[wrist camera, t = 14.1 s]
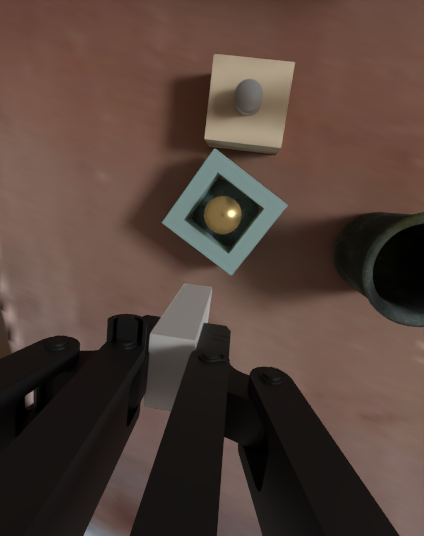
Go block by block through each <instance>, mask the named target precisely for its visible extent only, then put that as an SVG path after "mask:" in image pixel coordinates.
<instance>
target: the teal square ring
mask: <svg viewBox="0 0 424 536" xmlns="http://www.w3.org/2000/svg"><path fill="white" fill-rule="evenodd" d="M219 176H222V177H223V178H224V179H225V180H227V181H228V182H229V183H231V184H232V185H233V186H234V187H236V188H237V189H238V190H240V191H241V192H242V193H243V194H245V195H246V196H247V197H249V198H250V199H251V200H252V201H254V202H255V203H256V204H258V205H259V206H260V207H261V210H260V211H259V212H258V214H257V215H256V216H255V217H254V219H253V220H252V221H251V222H250V224H249V225H248V226H247V228H246V229H245V230H244V231H243V233H242V234H241V235H240V237H239V238H238V239H237V240H236V242H235V243H234V244H233V246H232V247H231V248H230V249H229V248H228V247H226V246H225V245H224V244H222V243H221V242H220V241H218V240H217V239H216V238H215V237H213V236H212V235H211V234H209V233H208V232H207V231H205V230H204V229H203V228H201V227H200V226H199V225H198V224H196V223H195V222H194V221H192V220H191V219H190V218H189V217H190V216H191V215H192V213H193V212H194V211H195V209H196V208H197V206H198V205H199V204H200V202H201V201H202V200H203V198H204V197H205V195H206V194H207V193H208V191H209V190H210V189H211V187H212V186H213V184H214V183H215V182H216V180H217V179H218V178H219ZM287 206H288V205H287V204H286V203H284V202H283V201H282V200H280V199H279V198H278V197H277V196H275V195H274V194H273V193H272V192H270V191H269V190H268V189H266V188H265V187H264V186H263V185H261V184H260V183H259V182H258V181H256V180H255V179H254V178H252V177H251V176H250V175H249V174H247V173H246V172H245V171H244V170H242V169H241V168H240V167H238V166H237V165H236V164H235V163H233V162H232V161H231V160H230V159H228V158H227V157H226V156H224V155H223V154H222V153H221V152H219V151H218V150H217V149H215V148H214V150H213V151H212V152H211V154H210V155H209V157H208V158H207V160H206V161H205V162H204V164H203V165H202V167H201V168H200V169H199V171H198V172H197V174H196V175H195V176H194V178H193V179H192V181H191V182H190V184H189V185H188V186H187V188H186V189H185V191H184V192H183V193H182V195H181V196H180V198H179V199H178V201H177V202H176V203H175V205H174V206H173V208H172V209H171V210H170V212H169V213H168V215H167V216H166V217H165V219H164V220H163V222H162V223H163V224H164V225H165V226H167V227H168V228H169V229H170V230H172V231H173V232H174V233H176V234H177V235H178V236H180V237H181V238H182V239H184V240H185V241H186V242H188V243H189V244H190V245H192V246H193V247H194V248H196V249H197V250H198V251H199V252H201V253H202V254H203V255H205V256H206V257H207V258H209V259H210V260H211V261H213V262H214V263H215V264H217V265H218V266H219V267H221V268H222V269H223V270H224V271H226V272H227V273H228V274H230V275H231V276H232V275H233V273H234V272H235V271H236V270H237V268H238V267H239V266H240V265H241V263H242V262H243V261H244V260H245V258H246V257H247V256H248V255H249V253H250V252H251V251H252V250H253V248H254V247H255V246H256V245H257V243H258V242H259V241H260V240H261V238H262V237H263V236H264V235H265V233H266V232H267V231H268V230H269V228H270V227H271V226H272V225H273V223H274V222H275V221H276V220H277V218H278V217H279V216H280V215H281V213H282V212H283V211H284V210H285V208H286V207H287Z"/></svg>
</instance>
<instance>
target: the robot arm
mask: <svg viewBox="0 0 424 536" xmlns="http://www.w3.org/2000/svg"><path fill="white" fill-rule="evenodd" d="M211 294H212V287H208V286H201V285H194V284H187V283H184V284H183V286H182V287H181V289H180V290H179V292H178V293H177V295H176V296H175V297H174V299H173V300H172V302H171V303H170V305H169V306H168V308H167V309H166V311H165V312H164V314H163V315H162V317H157V316H150V315H146V316H143V317H141V316H138V315H133V314H119V315H115V316H112V317H110V318H108V327H107V342H106V343H105V344H104V345H103V346H102V347H101V348H100V349H99V350H95V351H80V343H79V341H78V340H77V339H75V338H72V337H67V336H55V337H49V338H46V339H43V340H40V341H38V342H36V343H34V344H32V345H30V346H27V347H25V348H23V349H21V350H19V351H17V352H14V353H12V354H10V355H8V356H6V357H4V358H1V359H0V536H83V535H84V533H85V531H86V529H87V526H88V524H89V522H90V520H91V518H92V516H93V514H94V511H95V509H96V507H97V505H98V503H99V501H100V499H101V496H102V494H103V492H104V490H105V488H106V486H107V484H108V481H109V479H110V477H111V475H112V473H113V471H114V469H115V466H116V464H117V462H118V460H119V458H120V456H121V454H122V451H123V449H124V447H125V445H126V443H127V441H128V438H129V436H130V434H131V432H132V430H133V428H134V426H135V423H136V421H137V419H138V417H139V413H140V403H141V400H142V398H143V396H144V407H149V408H155V409H161V410H167V411H171V413H170V416H169V419H168V422H167V425H166V428H165V431H164V434H163V437H162V440H161V443H160V446H159V449H158V452H157V455H156V458H155V461H154V464H153V467H152V470H151V473H150V476H149V479H148V482H147V485H146V488H145V491H144V494H143V497H142V500H141V503H140V506H139V509H138V512H137V515H136V518H135V521H134V524H133V527H132V530H131V533H130V536H217V525H218V511H219V497H220V484H221V470H222V457H223V443H224V437H226V438H228V439H230V440H233V441H235V442H237V443H238V452H239V456H240V459H241V463H242V466H243V470H244V473H245V476H246V480H247V483H248V487H249V490H250V494H251V497H252V501H253V504H254V507H255V511H256V514H257V518H258V521H259V525H260V528H261V532H262V535H263V536H399V534H398V533H397V531H396V530H395V528H394V527H393V526H392V524H391V523H390V521H389V520H388V518H387V517H386V515H385V514H384V512H383V511H382V510H381V508H380V507H379V505H378V504H377V502H376V501H375V499H374V498H373V496H372V495H371V494H370V492H369V491H368V489H367V488H366V486H365V485H364V483H363V482H362V480H361V479H360V477H359V476H358V475H357V473H356V472H355V470H354V469H353V467H352V466H351V464H350V463H349V461H348V460H347V459H346V457H345V456H344V454H343V453H342V451H341V450H340V448H339V447H338V445H337V444H336V443H335V441H334V440H333V438H332V437H331V435H330V434H329V432H328V431H327V429H326V428H325V426H324V425H323V424H322V422H321V421H320V419H319V418H318V416H317V415H316V413H315V412H314V410H313V409H312V408H311V406H310V405H309V403H308V402H307V400H306V399H305V397H304V396H303V394H302V393H301V392H300V390H299V389H298V387H297V386H296V384H295V383H294V381H293V380H292V378H290V377H289V376H288V375H287V374H286V373H284V372H282V371H281V370H279V369H277V368H276V369H275V368H273V367H257V368H255V369H252V371H251V372H250V375H247V374H244V373H242V372H239V371H238V370H236V369H234V368H233V367H232V366H231V365H230V363H229V361H230V360H229V347H230V333H231V331H230V330H229V329H228V328H227V326H222V325H216V324H209V323H208V317H209V309H210V302H211ZM33 390H34V403H33V404H32V405H30V406H29V407H26V408H25V396H26V395H27V394H28V393H30V392H32V391H33ZM144 394H145V395H144Z"/></svg>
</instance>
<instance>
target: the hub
mask: <svg viewBox="0 0 424 536" xmlns="http://www.w3.org/2000/svg"><path fill="white" fill-rule="evenodd" d="M257 214H258V209H257V204H256V203H255V202H254V201H252V200H251V199H250V198H249V197H247V196H246V195H245V194H243V193H242V192H241V191H240V190H238V189H237V188H236V187H234V186H233V185H232V184H231V183H229V182H228V181H227V180H219V181H216V182H215V183H214V184H213V186H212V187H211V189H210V190H209V191H208V193H207V194H206V195H205V197H204V198H203V200H202V201H201V202H200V204H199V205H198V206H197V208H196V209H195V211H194V212H193V219H194V222H195V223H196V224H198V225H199V226H200V227H201V228H203V229H204V230H205V231H207V232H208V233H209V234H211V235H212V236H213V237H215V238H216V239H217V240H218V241H220V242H221V243H222V244H224V245H225V246H227V245H233V244H234V243H235V242H236V240H237V239H238V238H239V237H240V235H241V234H242V233H243V231H244V230H245V229H246V228H247V226H248V225H249V224H250V222H251V221H252V220H253V219H254V217H255V216H256V215H257Z"/></svg>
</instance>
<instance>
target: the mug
mask: <svg viewBox="0 0 424 536" xmlns="http://www.w3.org/2000/svg"><path fill="white" fill-rule="evenodd" d="M334 263H335V267H336V269H337V271H338V273H339V275H340V276H341V277H342V278H343V280H344V281H346V282H347V283H348V284H349V285H351V286H352V287H353V288H355V289H356V290H357V291H359V292H360V293H361V294H362V295H364V296H365V297H366V298H368V300H369V302H370V303H371V305H372V306H373V307H374V308H375V309H376V310H377V311H378V312H379V313H380V314H381V315H382V316H384V317H386V318H387V319H389V320H391V321H393V322H396V323H398V324H402V325H406V326H413V327H424V212H423V213H418V214H413V215H410V214H397V213H384V212H377V213H370V214H366V215H364V216H361V217H359V218H357V219H355V220H354V221H352V222H351V223H350V224H348V225H347V226H346V227H345V228H344V229H343V231H342V232H341V234H340V235H339V237H338V239H337V241H336V244H335V247H334Z"/></svg>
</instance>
